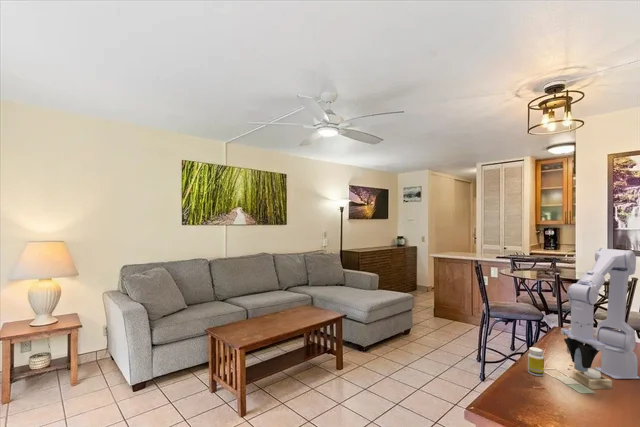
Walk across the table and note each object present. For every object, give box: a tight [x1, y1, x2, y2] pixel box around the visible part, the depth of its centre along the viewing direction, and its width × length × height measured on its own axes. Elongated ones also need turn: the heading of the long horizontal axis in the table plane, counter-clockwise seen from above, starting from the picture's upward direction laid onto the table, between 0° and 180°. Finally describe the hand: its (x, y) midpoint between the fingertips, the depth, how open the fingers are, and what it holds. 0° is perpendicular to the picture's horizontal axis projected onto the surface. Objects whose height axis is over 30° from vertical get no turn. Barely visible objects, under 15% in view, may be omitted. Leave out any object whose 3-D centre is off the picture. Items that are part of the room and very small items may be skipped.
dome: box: [584, 367, 602, 379], centre depth 111 cm, size 4×4×3 cm
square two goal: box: [567, 383, 596, 394], centre depth 107 cm, size 5×5×1 cm
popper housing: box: [572, 370, 613, 390], centre depth 111 cm, size 7×7×3 cm
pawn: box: [573, 348, 588, 372], centre depth 107 cm, size 3×3×7 cm
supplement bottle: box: [527, 346, 545, 377], centre depth 117 cm, size 5×5×8 cm
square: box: [555, 376, 581, 385], centre depth 112 cm, size 5×5×1 cm
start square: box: [544, 367, 571, 379], centre depth 118 cm, size 6×6×1 cm
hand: (581, 364), depth 107 cm, fingers closed on pawn, 3 cm apart
